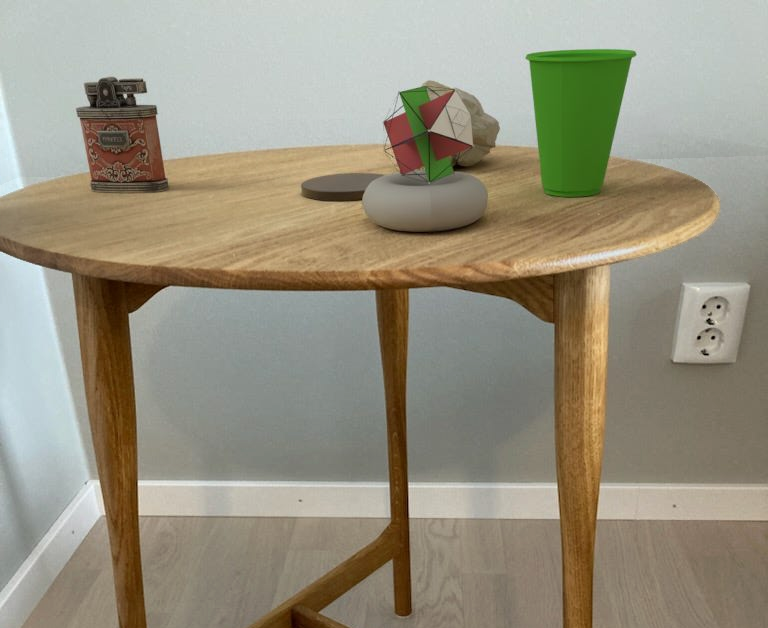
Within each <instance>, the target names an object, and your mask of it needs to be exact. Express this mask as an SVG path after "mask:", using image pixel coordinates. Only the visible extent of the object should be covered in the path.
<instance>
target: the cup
mask: <svg viewBox="0 0 768 628" xmlns="http://www.w3.org/2000/svg"><path fill="white" fill-rule="evenodd" d="M636 56H637V52H636V51H635V50H633V49H632V50H631V49H619V48H618V49H616V48H587V49H586V48H585V49H584V48H583V49H581V48H580V49H562V50H547V51H537V52H532V53H528V54H526V55H525V57H524V59H525V60H527V61H528V62H529V63H528V64H529V73H530V81H531V91H532V101H533V109H534V110H533V111H534V120H535V129H536V139H537V140H536V141H537V150H538V159H539V168H540V179H541V186H542V188H543V189H544V190H543V191H544V193H545V194H546V195H550V196H553V197H565V198H579V197H589V196H590V197H591V196H594V195H597V194H599V193H600V192H601V188H602V187H603V186H604V182H605V177H606V173H607V169H608V163H609V160H610V155H611V151H612V146H613V142H614V138H615V133H616V130H617V125H618V121H619V116H620V112H621V107H622V103H623V99H624V94H625V90H626V85H627V81H628V78H629V73H630V67H631V63H632V59H633V58H635V57H636Z"/></svg>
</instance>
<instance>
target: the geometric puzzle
mask: <svg viewBox="0 0 768 628" xmlns="http://www.w3.org/2000/svg"><path fill="white" fill-rule="evenodd" d="M426 87H427V85H425V86H423V87H421V86H419V87H414V88H411V89H410V88H409V89H405V90H402V91H400V90H398V91H397V96H396V100H395V105H394V109H393V113H392V114H391V115H389V116H388V114H389V113H390V111H391V109H389V111H388V113H387V115H386V117H385V118H384V120H383V121H382V125H383V127H384V130H385V131H386V134H387V136H386V140H385V142H384V146H383V150H382V151H383V153H385V154H386V156H387V157H389V156H391V157H392V158H393V159H394V160H395V161H396V164H397V166H398V168H399V169H398V168H397V167H396V165H395V163H394V162H393V161H392V159H391V158H389V160H390V161H391V162H392V165H394V166H395V168H396V170H397V171H398V172H401V173H400V174H401V176H403V175H404V174H405V175H419V176H420V175H425V174H417V173H416V174H406V173H409V172H411V171H413V172H414V171H417V170H420V169H421V168H424V170H425V171H426V174H427V177H428V180H429V182H428V181H427V180H426V181H427V182H428V184H430V183H431V182H433V181H436V180H438V179H440V178H443V177H445V176H448V175H450V174H455V171H457V170H458V168H459V167H460V165H458V164H457V163H456V164H455V165H454V168H453V167H452V164H453V163H454V162H455V161H454V162H453V163H452V164H451V162H450V159H449V156H451V155H453V154H456V153H458V152H459V155H460V152H461V151H463V150H466V149H468V148H470V149H472V148H473V147H474V145H473V134H472V120H471V114H470V112H469V111H468V109H467V108H466V106H465V104H464V103H463V101H462V99H461V98H460V96H459V94H458V93H457V91H456V89H453V88H452V90H453V91H451V92H449V93H446V94H444V95H442V96H439V95H438V94H437V93H435V92H434V91H442V90H431V89H430V88H428V87H432V86H428V87H427V88H428V89H430V90H431V91H432V92H434V93H435V94H437V95H438V96H439V97H438V98H435V99H433V100H431V101H430V97H429V94H428V91H427V88H426ZM436 88H440V87H436ZM445 89H448V88H445ZM399 97H400V100H401V102H402V105H401V106H400V107H399V108H398V109H397V110H396V107H397V103H398V99H399ZM402 108H404V111H405V112H403V113H401V114H399V115H396V116H394V115H395V114H396V113H398V111H400V110H401V109H402ZM395 110H396V111H395ZM387 141H389V143H390V146H389V147H387V148H386V146H387ZM390 149H392V152H393V155H394V156H393V155H392V154H390V153H389V152H387V150H390ZM470 149H469V150H470ZM469 150H468V151H469ZM466 152H467V151H466ZM466 152H465V153H466ZM469 152H470V151H469ZM465 153H464V154H465ZM464 154H463V155H464ZM463 155H462V156H463ZM466 156H467V155H466ZM460 157H461V156H460ZM460 157H459V156H458V159H459V158H460ZM458 159H457V160H456V161H457V162H458ZM464 159H465V158H464ZM461 163H462V162H461ZM457 165H458V167H457ZM456 167H457V168H456ZM414 173H415V172H414ZM406 177H407V176H406ZM420 177H421V176H420ZM409 178H411V177H409ZM421 178H422V177H421ZM413 179H414V178H413ZM423 179H424V178H423ZM417 180H418V179H417ZM424 180H425V179H424ZM420 181H421V180H420ZM424 182H425V181H424Z"/></svg>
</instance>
